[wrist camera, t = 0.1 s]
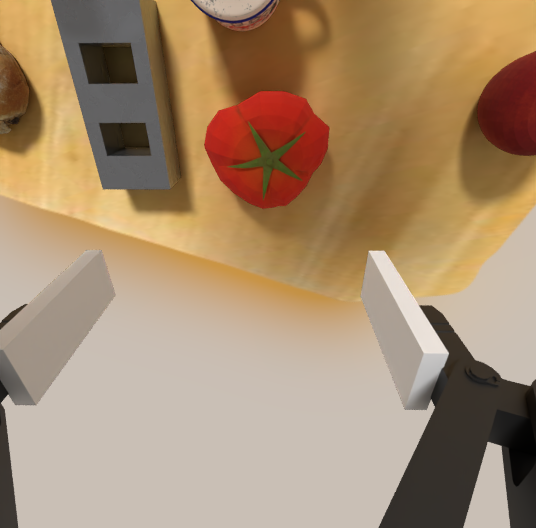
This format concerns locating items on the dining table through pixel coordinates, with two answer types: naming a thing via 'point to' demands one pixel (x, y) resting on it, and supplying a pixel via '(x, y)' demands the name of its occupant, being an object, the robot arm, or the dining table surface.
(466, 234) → the dining table surface
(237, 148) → the tomato
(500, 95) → the apple
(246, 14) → the teacup with lid
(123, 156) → the grey rectangular block
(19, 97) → the bread roll
